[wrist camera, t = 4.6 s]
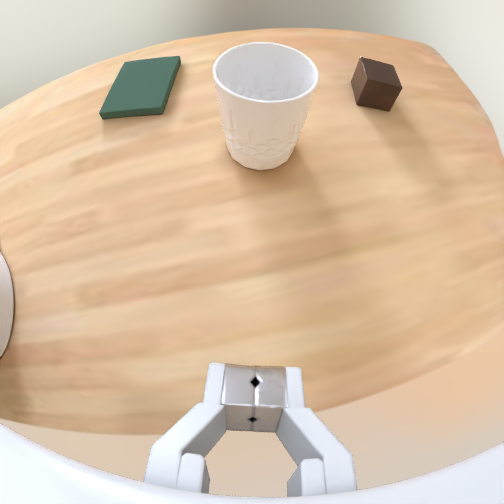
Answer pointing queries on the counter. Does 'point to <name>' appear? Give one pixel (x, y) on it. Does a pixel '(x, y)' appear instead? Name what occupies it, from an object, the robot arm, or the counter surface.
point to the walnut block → (375, 84)
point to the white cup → (263, 101)
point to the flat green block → (141, 88)
